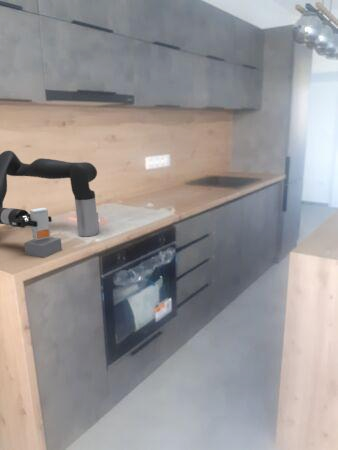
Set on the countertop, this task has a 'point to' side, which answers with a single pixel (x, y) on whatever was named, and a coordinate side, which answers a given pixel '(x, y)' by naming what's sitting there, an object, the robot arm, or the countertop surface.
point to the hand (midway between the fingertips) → (43, 221)
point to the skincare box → (40, 223)
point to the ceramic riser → (43, 247)
